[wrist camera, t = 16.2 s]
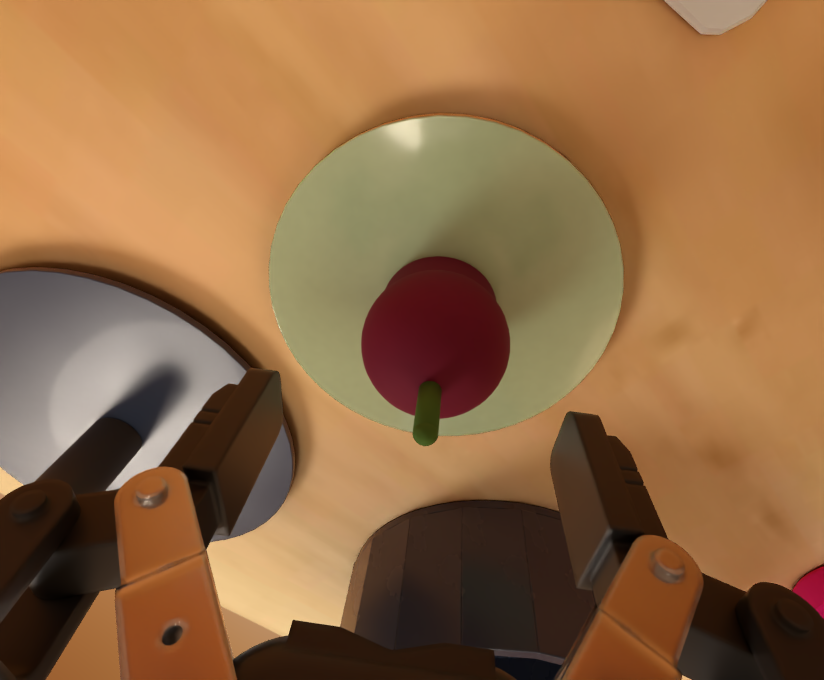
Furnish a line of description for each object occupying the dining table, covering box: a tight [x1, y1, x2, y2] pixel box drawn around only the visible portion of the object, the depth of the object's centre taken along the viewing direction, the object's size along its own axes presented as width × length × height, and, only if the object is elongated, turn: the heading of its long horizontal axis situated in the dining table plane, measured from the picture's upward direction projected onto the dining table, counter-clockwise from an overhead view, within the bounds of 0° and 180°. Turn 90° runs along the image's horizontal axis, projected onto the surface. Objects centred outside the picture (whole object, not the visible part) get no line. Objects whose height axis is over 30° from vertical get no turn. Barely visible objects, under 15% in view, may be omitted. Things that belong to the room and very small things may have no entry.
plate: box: [269, 113, 624, 436], centre depth 18 cm, size 14×14×1 cm
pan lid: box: [0, 267, 295, 542], centre depth 22 cm, size 19×19×6 cm
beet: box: [361, 256, 510, 446], centre depth 15 cm, size 5×5×7 cm
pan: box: [340, 500, 596, 680], centre depth 26 cm, size 18×18×8 cm
